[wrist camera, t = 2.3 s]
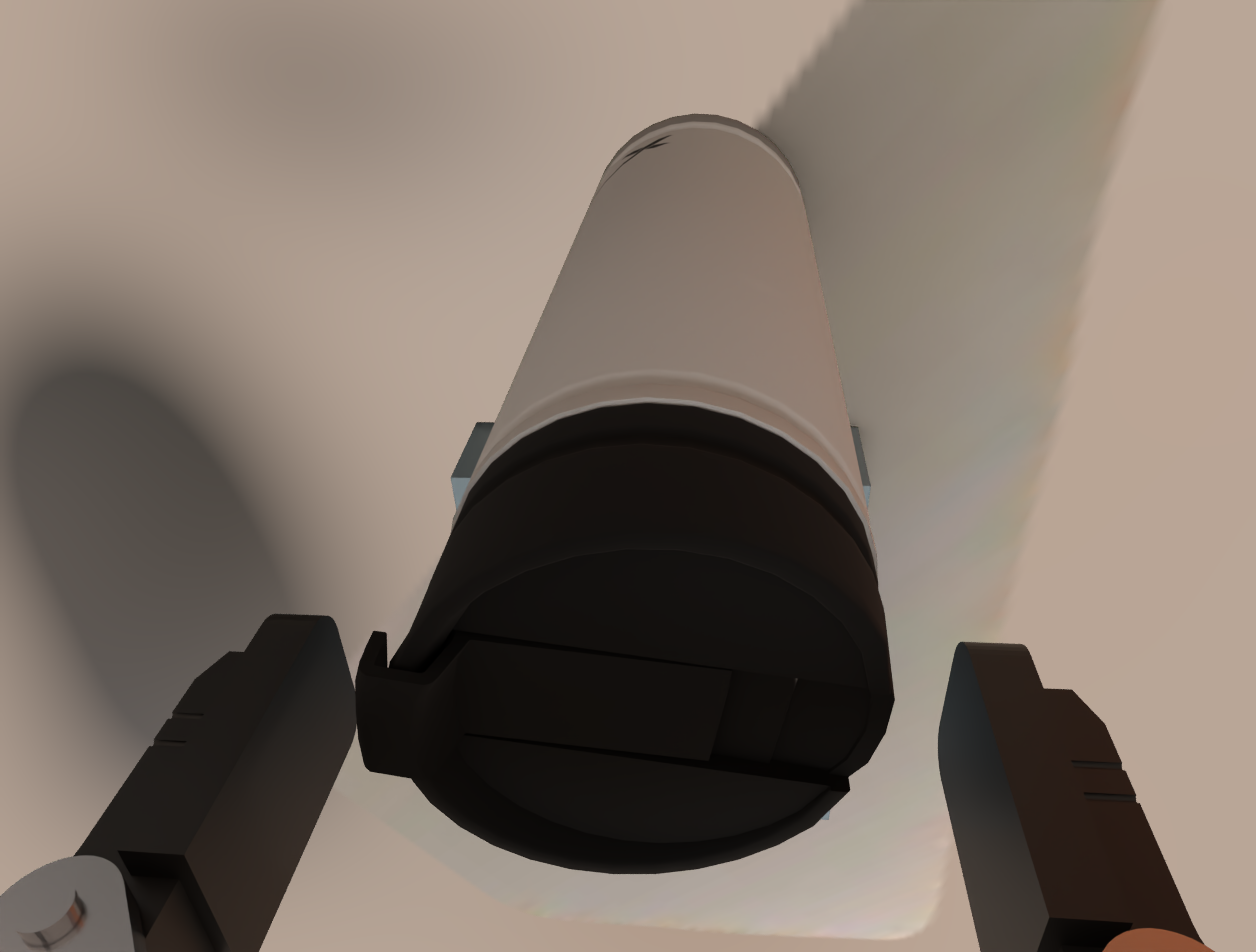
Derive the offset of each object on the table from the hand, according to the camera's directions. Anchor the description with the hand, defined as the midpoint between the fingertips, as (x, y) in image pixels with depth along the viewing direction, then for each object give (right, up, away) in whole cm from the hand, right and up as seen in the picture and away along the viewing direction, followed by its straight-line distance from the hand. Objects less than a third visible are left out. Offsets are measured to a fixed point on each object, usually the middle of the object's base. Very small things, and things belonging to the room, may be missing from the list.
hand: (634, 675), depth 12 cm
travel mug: (+2, +10, +16) cm, 19 cm away
